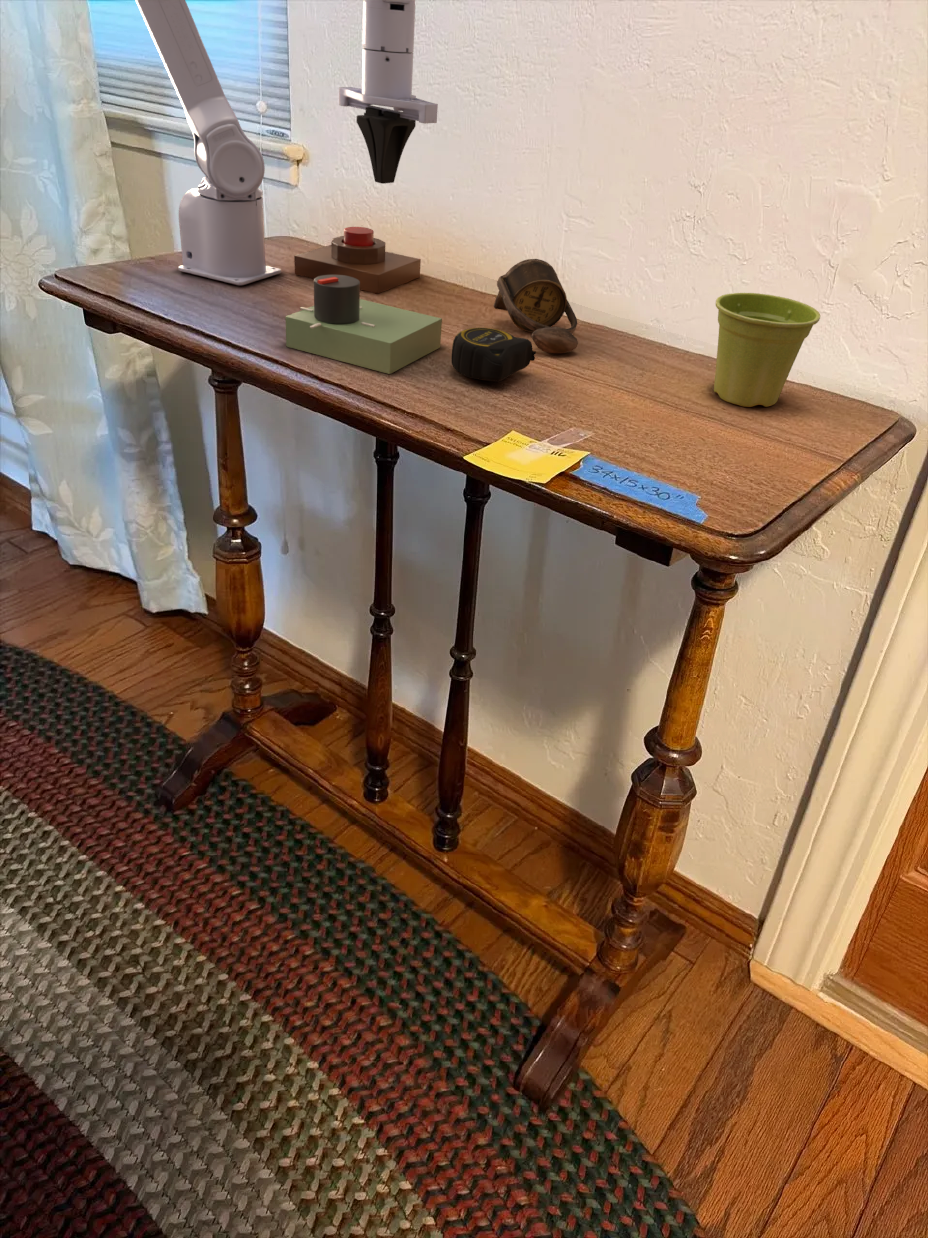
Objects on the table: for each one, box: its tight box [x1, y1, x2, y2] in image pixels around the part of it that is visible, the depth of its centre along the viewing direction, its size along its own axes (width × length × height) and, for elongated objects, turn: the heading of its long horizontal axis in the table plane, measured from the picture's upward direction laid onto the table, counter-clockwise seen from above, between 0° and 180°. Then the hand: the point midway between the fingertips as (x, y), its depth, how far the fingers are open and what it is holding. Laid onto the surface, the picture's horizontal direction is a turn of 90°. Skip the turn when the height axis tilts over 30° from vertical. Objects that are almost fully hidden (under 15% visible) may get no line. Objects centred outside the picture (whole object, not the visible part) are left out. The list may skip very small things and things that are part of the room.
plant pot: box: [713, 292, 821, 408], centre depth 88 cm, size 9×9×9 cm
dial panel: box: [284, 298, 443, 375], centre depth 92 cm, size 12×11×3 cm
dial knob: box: [313, 275, 361, 324], centre depth 90 cm, size 4×4×4 cm
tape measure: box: [451, 327, 537, 382], centre depth 88 cm, size 7×7×4 cm
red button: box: [343, 226, 375, 246], centre depth 112 cm, size 4×4×2 cm
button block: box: [293, 235, 422, 294], centre depth 114 cm, size 12×10×4 cm
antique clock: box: [492, 258, 579, 354], centre depth 99 cm, size 7×13×10 cm
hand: (384, 181), depth 112 cm, fingers closed
